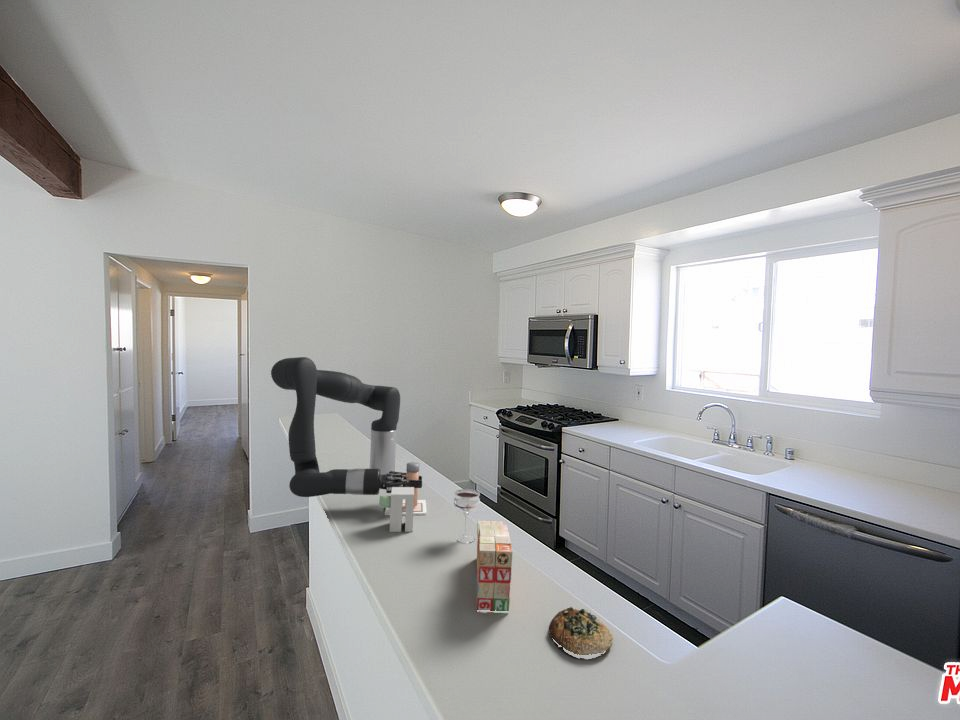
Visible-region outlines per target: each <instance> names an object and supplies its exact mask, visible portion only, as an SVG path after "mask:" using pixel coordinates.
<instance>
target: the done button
mask: <svg viewBox="0 0 960 720" xmlns="http://www.w3.org/2000/svg"><path fill="white" fill-rule="evenodd" d="M378 507H379V508H381V509H383V508H385V509H386V508H391V495H380V496H379V506H378Z"/></svg>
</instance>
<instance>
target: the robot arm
mask: <svg viewBox="0 0 960 720" xmlns="http://www.w3.org/2000/svg"><path fill="white" fill-rule="evenodd" d="M270 375H271V376H270V377H271V379H272V381H273V383H274V384H275V385H276V386H278V387H279V388H280V389H283V390H287V391H289V390H290V391H295V395H296V407H295V412H294V414H293V417H292V420H291V423H290V425H289V429H288V436H287V437H288V449H289V458H290V461H292V462H293V464H294V466H293V467H294V475H293V476H292V477H291V479H290V481H289V484H288V485H289V489H290V491H291V493H292V494H293V495H294V496H297V497H300V498H311V497H319V496H325V495H331V494H333V495H353V496H378V495H379V494H380V490H386V494H391V492H392V487H414V488H418V489H421V488H422V487H423V476H422V475H419V478H418V480H410V481H409V480H406V476H407V472H401V471H396V454H397V452H396V451H397V449H396V448H397V447H396V446H397V428H398V422H399V419H400V410H401V409H400V408H401V394H400V390H399V389H398V388H397V387H394V386H387V385H373V384H372V385H371V384H367V383H363V382H362V381H361V380H360V379H359V378H358V377H357V376H354V375H351V374H348V373H345V372H341V371H333V370H323V369H317V365H316V364H315V361H313V360H312V359H311V358H309V357H307V356H304V357H302V356H300V357H287V358H283V359H280V360H278V361H277V362H275V363H274V364H273V366H272V367H271V370H270ZM317 396H320V397H323V398H327V399H330V400H333V401H337V402H343V403H345V404H346V403H348V404H360V405H362V406H365V407H368V408H369V409H372V410H375V411H379V412H380V411H381V412H382V413H381V417H379V418H378V419H375V420H373V421H372V422H371V426H370V429H371V430H370V452H369V455H370V457H369V468H351V469H350V468H349V469H348V468H343V469H342V468H340V469H339V468H338V469H336V468H335V469H330V470H328V471H326V472H320V466H319V462H318V459H317V454H316V437H315V411H316V409H315V408H316V401H317V399H316V398H317Z"/></svg>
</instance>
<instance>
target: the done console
mask: <svg viewBox="0 0 960 720" xmlns="http://www.w3.org/2000/svg"><path fill="white" fill-rule="evenodd" d="M390 496H391V508H390V515H389V516H390V518H389V533H400V532H402V526H403V525H402V522H403V515H402V504H403V500H405V499H406V515H405V519H404V522H405V523H404V524H405V525H404V532H405V533H408V532H409V533H411V532H414V530H413V527H414V515H413V509H414V487H392V492H391V493H390Z"/></svg>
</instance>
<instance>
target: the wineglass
mask: <svg viewBox="0 0 960 720" xmlns="http://www.w3.org/2000/svg"><path fill="white" fill-rule="evenodd" d="M454 495H455V496H454V499H453V506H454V508H456V510H457V512H459V513H461V514H462V515H463V516H464V534H461V535H458V536H456V537H455V541H456V540H458V541H460V542H463V543H462V544H470V543H469V542H472V541H474V542H475V540H474V539H475V537H474V536H472V535H468V534H467V530H468V529H467V528H468V516H469V515H471V514H473V513H474V512H475V511H476V510H478V509H479V507H480V503H481V499H480V496H481V493H480V492H479V491H478V490H475V489H472V488H471V489H470V488H461V489H457V490H455V491H454ZM473 537H474V538H473ZM460 542H459V543H460ZM472 543H473V542H472Z"/></svg>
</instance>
